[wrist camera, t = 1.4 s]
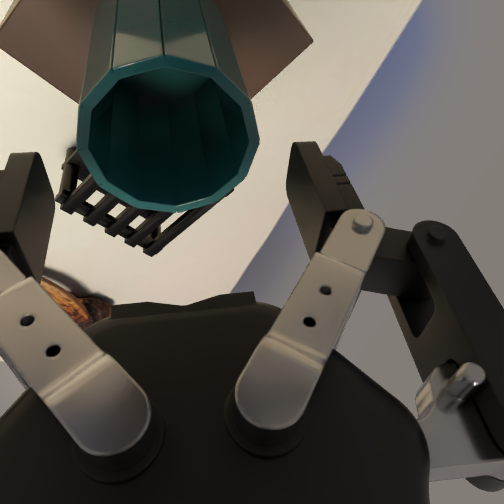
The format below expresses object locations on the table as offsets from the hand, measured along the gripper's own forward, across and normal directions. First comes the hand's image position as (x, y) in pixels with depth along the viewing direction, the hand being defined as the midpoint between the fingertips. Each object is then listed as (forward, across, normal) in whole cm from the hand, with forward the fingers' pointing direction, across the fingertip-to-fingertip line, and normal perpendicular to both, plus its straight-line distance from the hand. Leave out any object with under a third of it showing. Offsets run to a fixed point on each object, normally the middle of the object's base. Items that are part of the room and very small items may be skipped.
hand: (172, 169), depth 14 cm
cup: (+10, 0, 0) cm, 10 cm away
